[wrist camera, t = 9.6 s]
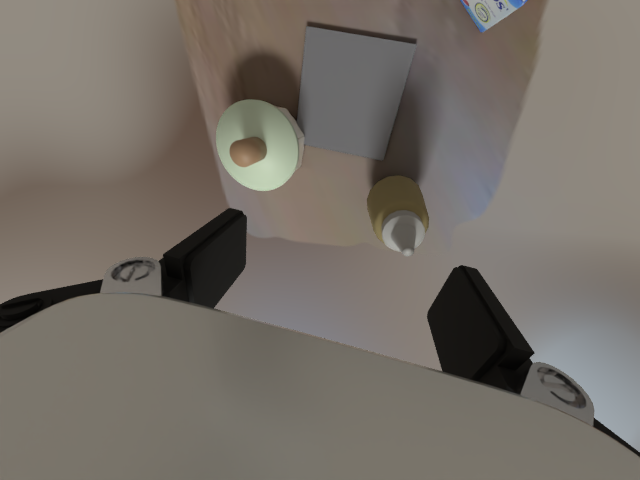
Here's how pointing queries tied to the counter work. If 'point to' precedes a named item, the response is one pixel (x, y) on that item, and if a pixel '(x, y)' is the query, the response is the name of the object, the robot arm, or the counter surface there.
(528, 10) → the counter surface
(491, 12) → the medicine box
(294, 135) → the lid
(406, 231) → the squeeze bottle
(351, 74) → the mat
